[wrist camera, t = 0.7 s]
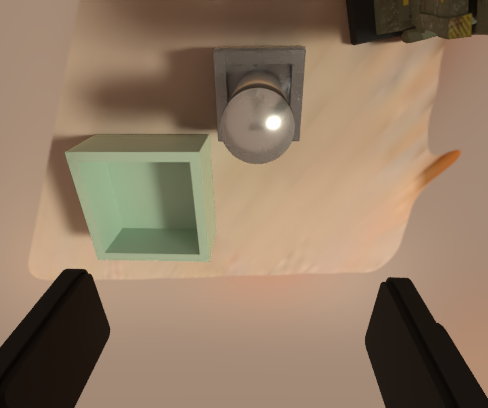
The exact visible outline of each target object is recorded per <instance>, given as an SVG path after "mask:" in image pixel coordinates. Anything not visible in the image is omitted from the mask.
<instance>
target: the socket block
mask: <svg viewBox="0 0 488 408" xmlns="http://www.w3.org/2000/svg"><path fill="white" fill-rule="evenodd" d="M305 53H306V50H305V46H261V47H217V48H214V52H213V61H214V78H215V94H216V111H217V128H218V141H223V139H222V136H221V130H220V124H221V118H222V114H223V111H224V108H225V106H226V104H227V102H228V101H229V99H230V98H231V96H232V94H233V92H234V91H235V89H236V87H237V85H238V83H239V81H240V80H241V78H242V77H243V76H244V75H246V74H247V73H249V72H251V71H254V70H265V71H268V72H270V73H272V74H273V75H274V76H275V77H276V78H277V79H278V80H279V82H280V84H281V87H282V89H283V92H284V94H285V96H286V99H287V100H288V102H289V104H290V107H291V109H292V111H293V115H294V122H295V131H294V136H293V139H292V141H299V138H300V124H301V110H302V96H303V81H304V67H305Z"/></svg>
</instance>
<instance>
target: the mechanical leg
mask: <svg viewBox="0 0 488 408" xmlns="http://www.w3.org/2000/svg"><path fill="white" fill-rule="evenodd" d="M346 4H347V13H348V21H349V29H350V37H351V43H352V44H353V45H357V44H362V43H367V42H372V41H377V40H382V39H387V38H392V37H397V36H400V35H401V38H402V40H403V42H405V43H412V42H416V41H420V40H425V39H428V38H432V37H435V36H438V37H441V38H445V39H454V38H463V37H471V35H475V34H477V35H488V0H346Z"/></svg>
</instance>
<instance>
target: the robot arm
mask: <svg viewBox="0 0 488 408" xmlns="http://www.w3.org/2000/svg"><path fill="white" fill-rule="evenodd" d="M109 335H110V326H109V323H108V320H107V318H106V314H105V312H104V309H103V306H102V303H101V300H100V297H99V294H98V291H97V288H96V286H95V283H94V280H93V277H92V275H91V274H88V272H87V271H86V270H85V269H65V270H64V271H63V272H62V273H61V274H60V275H59V276H58V277H57V279H56V280H55V281H54V282H53V284H52V285H51V286H50V287H49V289H48V290H47V291H46V292H45V293H44V295H43V296H42V297H41V298H40V299H39V301H38V302H37V303H36V304H35V306H34V307H33V308H32V310H31V311H30V312H29V313H28V314H27V315H26V317H25V318H24V319H23V320H22V321H21V323H20V324H19V325H18V326H17V328H16V329H15V330H14V331H13V332H12V334H11V335H10V336H9V338H8V339H7V340H6V341H5V342H4V344H3V345H2V346H1V347H0V408H74V407H75V405H76V403H77V401H78V399H79V397H80V395H81V393H82V391H83V389H84V387H85V385H86V383H87V381H88V379H89V377H90V375H91V373H92V371H93V369H94V367H95V365H96V363H97V361H98V359H99V357H100V355H101V353H102V350H103V348H104V346H105V344H106V342H107V340H108V338H109ZM365 345H366V349H367V352H368V355H369V358H370V361H371V364H372V368H373V370H374V373H375V376H376V379H377V383H378V386H379V389H380V392H381V395H382V398H383V401H384V404H385V407H386V408H488V398H487V397H486V395H485V393H484V392H483V390H482V388H481V387H480V385H479V384H478V382H477V380H476V378H475V377H474V375H473V374H472V372H471V371H470V369H469V367H468V366H467V364H466V362H465V361H464V359H463V357H462V356H461V354H460V352H459V351H458V349H457V347H456V346H455V344H454V343H453V341H452V339H451V338H450V336H449V334H448V333H447V331H446V330H445V329H444V327H443V326H442V325H440V324H439V323H436V321H435V320H434V318H433V316H432V315H431V313H430V312H429V310H428V308H427V306H426V305H425V303H424V301H423V300H422V298H421V296H420V295H419V293H418V291H417V290H416V288H415V286H414V285H413V283H412V281H411V280H410V279H409V278H391V277H389V278H388V279H387V280H386V282H382V283H381V285H380V288H379V291H378V295H377V298H376V302H375V305H374V309H373V312H372V315H371V319H370V322H369V326H368V329H367V332H366V336H365Z"/></svg>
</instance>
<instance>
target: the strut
mask: <svg viewBox="0 0 488 408" xmlns="http://www.w3.org/2000/svg"><path fill="white" fill-rule="evenodd" d="M220 130H221V136H222V139H223V142H224V144H225V146H226V147H227V149H228V150H229V151H230V152H231V153H232V154H233V155H234V156H235V157H236V158H238V159H240V160H242V161H244V162H247V163H252V164H263V163H267V162H271V161H273V160H275V159H277V158H278V157H280V156H281V155H282V154H283V153H284V152H285V151H286V150H287V149H288V147H289V146H290V144H291V142H292V139H293V136H294V131H295V122H294V115H293V111H292V109H291V107H290V104H289V102H288V100H287V99H286V96H285V94H284V92H283V89H282V87H281V84H280V82H279V80H278V79H277V78H276V77H275V76H274V75H273V74H272V73H270V72H268V71H265V70H254V71H251V72H249V73H247V74H246V75H244V76H243V77H242V78H241V80H240V81H239V83H238V85H237V87H236V89H235V91H234V92H233V94H232V96H231V98H230V99H229V101H228V102H227V104H226V106H225V108H224V111H223V114H222V118H221V124H220Z"/></svg>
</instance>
